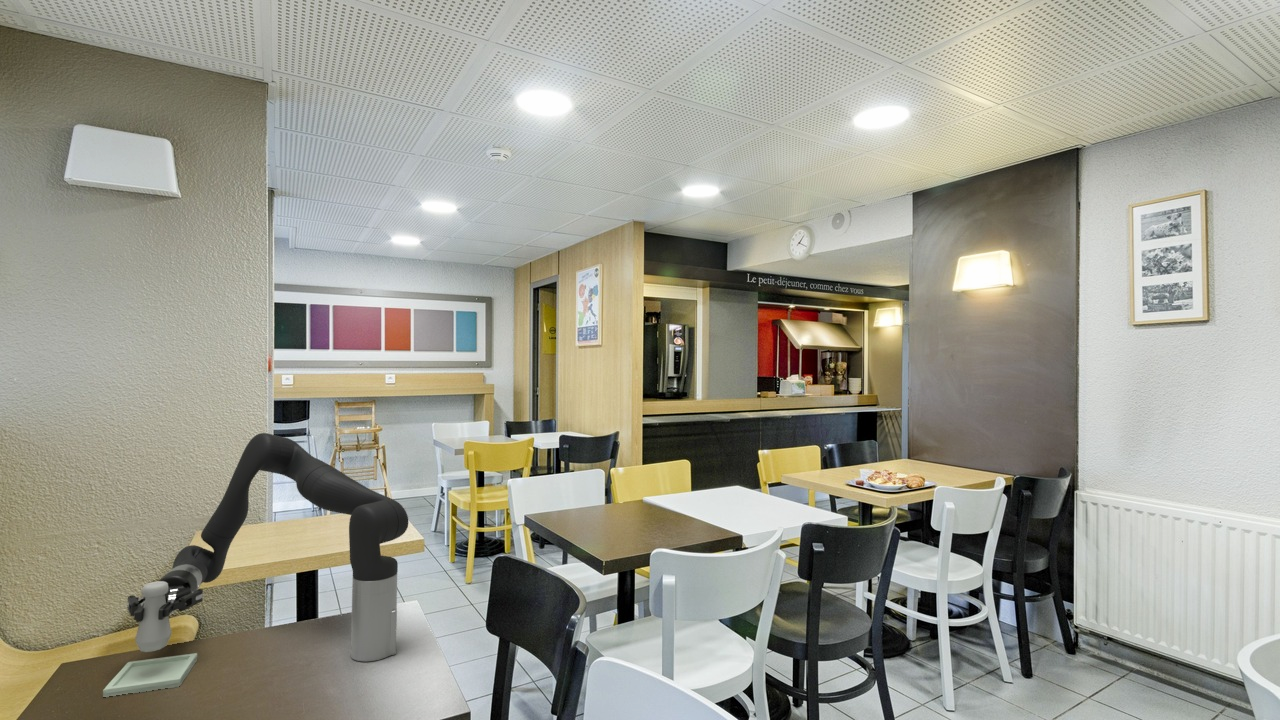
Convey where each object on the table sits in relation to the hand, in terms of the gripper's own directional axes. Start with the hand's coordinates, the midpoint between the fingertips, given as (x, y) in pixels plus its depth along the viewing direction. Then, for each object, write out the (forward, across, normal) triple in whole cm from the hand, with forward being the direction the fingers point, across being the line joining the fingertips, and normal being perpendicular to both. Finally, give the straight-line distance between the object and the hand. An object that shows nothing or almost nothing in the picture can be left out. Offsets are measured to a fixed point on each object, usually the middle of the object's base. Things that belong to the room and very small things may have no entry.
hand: (149, 615), depth 122 cm
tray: (-2, 0, +14) cm, 14 cm away
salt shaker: (-3, 0, +8) cm, 8 cm away
